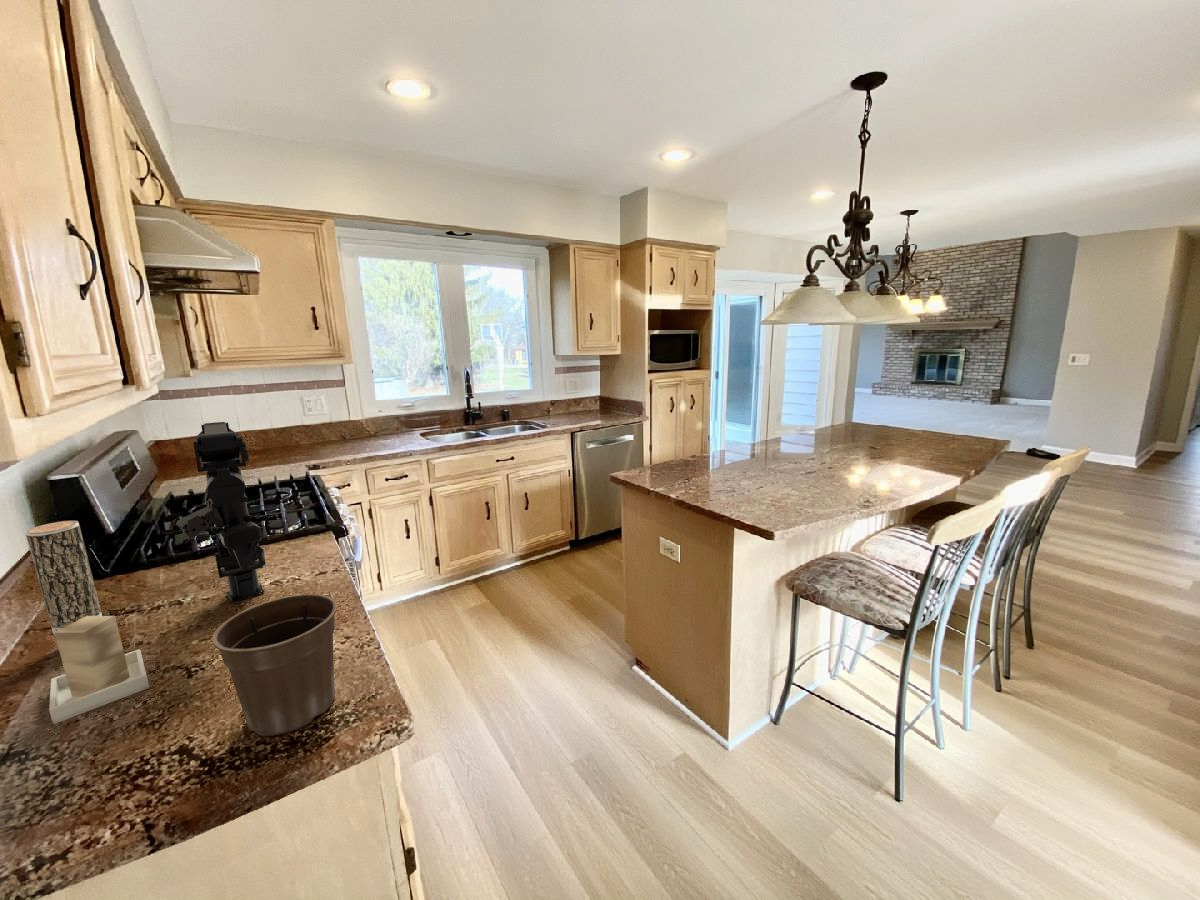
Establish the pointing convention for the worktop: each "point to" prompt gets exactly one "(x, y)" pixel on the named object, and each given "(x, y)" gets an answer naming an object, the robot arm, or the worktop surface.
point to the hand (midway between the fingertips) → (239, 563)
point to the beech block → (92, 654)
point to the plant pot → (281, 661)
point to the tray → (71, 706)
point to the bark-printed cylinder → (63, 573)
